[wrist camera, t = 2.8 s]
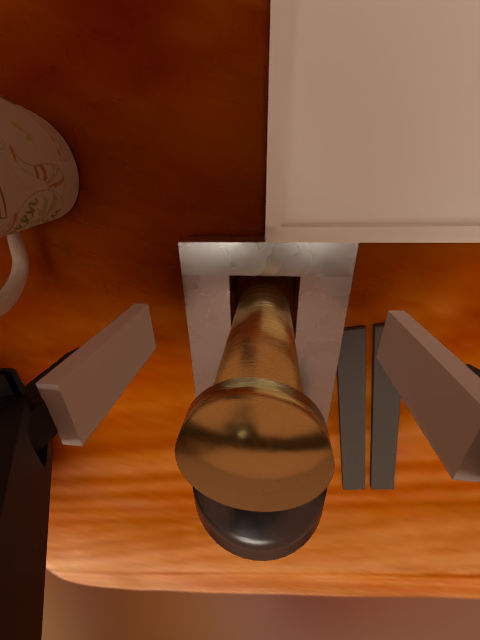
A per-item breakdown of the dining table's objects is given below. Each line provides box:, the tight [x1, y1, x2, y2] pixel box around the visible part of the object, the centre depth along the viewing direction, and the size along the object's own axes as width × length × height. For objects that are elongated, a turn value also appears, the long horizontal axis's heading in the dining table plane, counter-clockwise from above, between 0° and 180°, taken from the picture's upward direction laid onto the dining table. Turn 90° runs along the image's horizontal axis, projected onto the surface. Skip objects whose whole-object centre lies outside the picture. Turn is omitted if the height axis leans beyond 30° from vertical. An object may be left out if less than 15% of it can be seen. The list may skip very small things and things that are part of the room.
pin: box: [175, 276, 335, 512], centre depth 13 cm, size 4×4×13 cm
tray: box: [265, 0, 480, 243], centre depth 11 cm, size 16×14×2 cm
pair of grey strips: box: [337, 323, 401, 490], centre depth 22 cm, size 18×5×1 cm, turn 11°
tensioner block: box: [178, 236, 359, 561], centre depth 15 cm, size 16×10×11 cm, turn 1°
